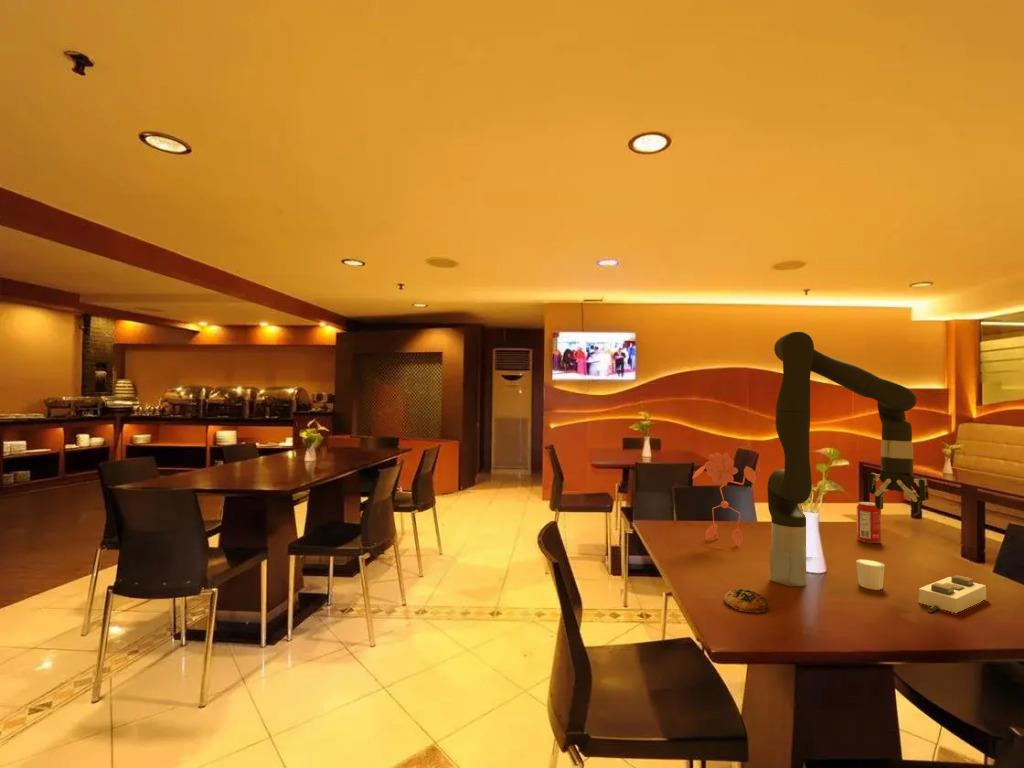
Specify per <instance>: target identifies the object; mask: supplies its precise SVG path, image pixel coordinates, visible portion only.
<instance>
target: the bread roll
mask: <svg viewBox="0 0 1024 768" xmlns="http://www.w3.org/2000/svg"><path fill="white" fill-rule="evenodd" d="M724 595H725V596H723V597H724V600H723V601H724V602H725V603H727V604H729V605H730V606H732V607H731V608H732V609H734V608H735V609H734V610H736V609H738V610H741V611H747V612H755V613H754V614H762V613H766V612H767V611H768V610H769V608H770V603H769V601H768V599H767V598H766V597H764V596H763V595H761V593H759V592H758V593H757V592H755V591H753V590H749V589H743V588H738V589H732V590H730V591H728V592H726V593H725V594H724ZM727 604H726V605H727ZM729 605H728V606H729ZM730 606H729V607H730ZM738 610H737V611H738ZM741 611H740V612H741ZM747 612H746V613H747ZM761 612H762V613H761Z"/></svg>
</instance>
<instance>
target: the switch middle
mask: <svg viewBox="0 0 1024 768" xmlns="http://www.w3.org/2000/svg"><path fill="white" fill-rule="evenodd" d="M944 585H948V586H952V587H954V590H958V591H960V590H963V589H964V587H962V586H958V585H954V584H950V583H945V584H944Z"/></svg>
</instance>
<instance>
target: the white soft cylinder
mask: <svg viewBox="0 0 1024 768" xmlns="http://www.w3.org/2000/svg"><path fill="white" fill-rule="evenodd" d="M855 562H856V570H857V571H856V572H857V577H858V580H857V581H858V585H859V586H860V587H863V588H865V589H870V590H875V591H878V590H879V591H880V589H881V590H882V589H883V585H884V578H885V569H886V568H885V567H886V566H885V564H884V563H883V562H881V561H877V560H873V559H864V558H863V559H862V558H860V559H857V560H856V561H855Z"/></svg>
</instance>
